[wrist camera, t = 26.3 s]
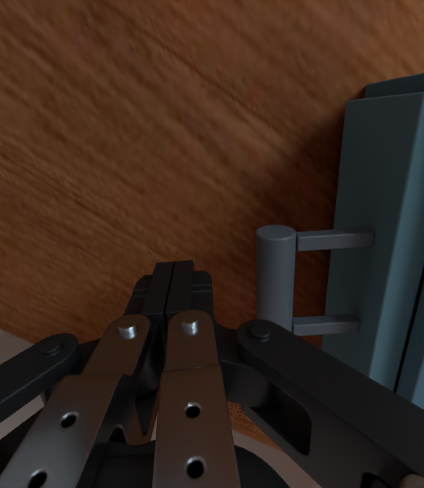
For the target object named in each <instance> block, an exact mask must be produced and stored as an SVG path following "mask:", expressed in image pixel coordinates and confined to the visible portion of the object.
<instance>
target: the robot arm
mask: <svg viewBox="0 0 424 488" xmlns="http://www.w3.org/2000/svg"><path fill="white" fill-rule="evenodd" d="M164 369H165V371H163V370H164ZM38 395H40V396H41V398H42V401H43V403H44V405H45V406H44V407H43V408H42V409H40V410H39V411H38V412H36V413H35V414H34V415H32V416H31V417H30V418H28V419H27V420H26V421H25V422H23V423H22V424H21V425H19V426H18V427H17V428H15V429H14V430H13V431H11V432H10V433H9V434H7V435H6V436H5V437H3V438H2V439H1V440H0V488H290V487H289V486H288V485H287V484H286V482H285V481H284V480H283V479H282V478H281V477H280V476H279V475H278V474H277V473H276V471H275V470H274V469H273V468H272V467H270V466H269V465H268V464H267V463H266V462H265V461H264V460H262V459H261V458H260V457H258V456H256V455H255V454H254V453H252V452H250V451H248V450H246V449H244V448H242V447H239V446H236V445H234V442H233V436H232V430H231V424H230V418H229V412H228V406H227V401H229V402H233V403H237V404H240V405H241V408H242V410H243V412H244V413H245V414H246V416H247V417H249V418H250V419H251V420H252V421H253V422H254V423H255V424H256V425H257V426H258V427H259V428H260V429H261V430H262V431H263V432H264V433H265V434H266V435H267V436H268V437H269V438H270V439H272V440H273V441H274V442H275V443H276V444H277V445H278V446H279V447H280V448H281V449H282V450H283V451H284V452H285V453H286V454H287V455H288V456H289V457H290V458H291V459H292V460H293V461H295V462H296V463H297V464H298V465H299V466H300V467H301V468H302V469H303V470H304V471H305V472H306V473H307V474H308V475H309V476H310V477H311V478H312V479H313V480H315V481H316V482H317V483H318V484H319V485H320V486H321V487H322V488H424V409H422V408H420V407H419V406H417V405H415V404H414V403H412V402H410V401H408V400H407V399H405V398H403V397H402V396H400V395H398V394H396V393H395V392H393V391H391V390H390V389H388V388H386V387H384V386H383V385H381V384H379V383H377V382H376V381H374V380H372V379H371V378H369V377H367V376H365V375H364V374H362V373H360V372H359V371H357V370H355V369H353V368H352V367H350V366H348V365H347V364H345V363H343V362H341V361H340V360H338V359H336V358H335V357H333V356H331V355H329V354H328V353H326V352H324V351H323V350H321V349H319V348H317V347H316V346H314V345H312V344H311V343H309V342H307V341H305V340H304V339H302V338H300V337H299V336H297V335H295V334H293V333H292V332H290V331H288V330H287V329H285V328H283V327H281V326H280V325H278V324H276V323H274V322H272V321H269V320H264V319H255V320H250V321H247V322H245V323H243V324H242V325H241V326H240V327H239V328H238V330H234V329H229V328H226V327H223V326H221V325H220V324H218V323H217V322H216V321H215V320H214V304H213V293H212V281H211V276H210V275H209V274H208V272H207V271H194V264H193V260H186V261H175V262H161V263H156V266H155V269H154V272H153V275H144V276H143V277H142V278H141V279H140V280H139V281H138V282H137V283H136V286H135V288H134V291H133V293H132V296H131V298H130V301H129V303H128V306H127V308H126V311H125V313H124V315H123V317H120V318H118V319H116V320H115V321H113V322H112V323H111V324H110V325H109V326H108V327H107V329H106V330H105V332H104V334H103V336H102V337H101V338H99V339H96V340H93V341H89V342H86V343H83V344H79V343H78V340H77V338H76V337H75V336H74V335H72V334H67V333H62V334H56V335H53V336H50V337H47V338H45V339H43V340H41V341H40V342H38V343H36V344H35V345H33V346H31V347H30V348H28V349H26V350H25V351H23V352H21V353H19V354H18V355H16V356H14V357H13V358H11V359H9V360H8V361H6V362H4V363H2V364H1V365H0V422H2V421H4V420H5V419H6V418H8V417H9V416H11V415H12V414H13V413H15V412H16V411H17V410H19V409H20V408H22V407H23V406H24V405H26V404H27V403H28V402H30V401H31V400H33V399H34V398H36V397H37V396H38ZM157 412H158V417H157V429H156V440H153V441H151V437H152V433H153V429H154V424H155V420H156V416H157Z"/></svg>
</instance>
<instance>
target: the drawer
mask: <svg viewBox="0 0 424 488" xmlns="http://www.w3.org/2000/svg"><path fill="white" fill-rule="evenodd" d="M327 249H331V256H330V266H329V276H328V286H327V296H326V306H325V315H323V316H308V317H293V318H292V312H293V292H294V271H295V251H296V250H297V251H312V250H327ZM255 277H256V319H264V320H269V321H272V322H274V323H276V324H278V325H280V326H281V327H283V328H285V329H287V330H288V331H290V332H292V333H293V334H295V335H297V336H308V335H322V345H321V350H323V351H324V352H326V353H328V354H329V355H331V356H333V357H335V358H336V359H338V360H340V361H341V362H343V363H345V364H347V365H348V366H350V367H352V368H353V369H355V370H357V371H359V372H360V373H362V374H364V375H365V376H367V377H369V378H371V379H372V380H374V381H376V382H377V383H379V384H381V385H383V386H384V387H386V388H388V389H390V390H391V391H393V390H394V386H395V382H396V380H397V382H398V383H399V379H400V375H401V371H402V367H403V363H404V359H405V355H406V351H407V347H408V343H409V339H410V335H411V331H412V327H413V323H414V319H415V315H416V311H417V307H418V303H419V299H420V295H421V291H422V287H423V283H424V92H419V93H410V94H401V95H392V96H383V97H374V98H365V99H356V100H348V101H347V102H346V108H345V118H344V128H343V138H342V148H341V158H340V168H339V177H338V187H337V197H336V207H335V217H334V227H333V230H318V231H304V232H296V231H295V230H294V229H293V228H291V227H288V226H284V225H267V226H263V227H260V228H258V229H257V230H256V232H255Z"/></svg>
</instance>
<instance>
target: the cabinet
mask: <svg viewBox="0 0 424 488" xmlns="http://www.w3.org/2000/svg"><path fill="white" fill-rule="evenodd" d="M419 92H424V73H421V74H416V75H411V76H406V77H401V78H396V79H391V80H386V81H381V82H376V83H371V84H368V85H366V89H365V97H364V99H365V98H374V97H383V96H392V95H401V94H410V93H419ZM393 392H395V393H396V394H398V395H400V396H402V397H403V398H405V399H407V400H408V401H410V402H412V403H414V404H415V405H417V406H419V407H420V408H422V409H424V283H423V287H422V291H421V295H420V299H419V303H418V307H417V311H416V315H415V319H414V323H413V327H412V331H411V335H410V339H409V343H408V347H407V351H406V355H405V359H404V363H403V367H402V371H401V375H400V379H399V383H398V382H397V380H396V382H395V386H394V390H393Z"/></svg>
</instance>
